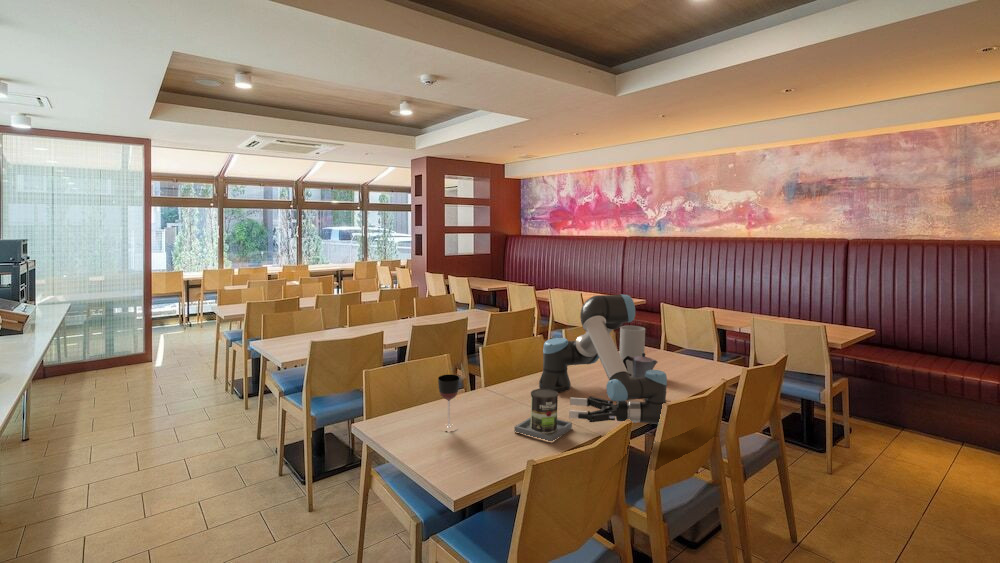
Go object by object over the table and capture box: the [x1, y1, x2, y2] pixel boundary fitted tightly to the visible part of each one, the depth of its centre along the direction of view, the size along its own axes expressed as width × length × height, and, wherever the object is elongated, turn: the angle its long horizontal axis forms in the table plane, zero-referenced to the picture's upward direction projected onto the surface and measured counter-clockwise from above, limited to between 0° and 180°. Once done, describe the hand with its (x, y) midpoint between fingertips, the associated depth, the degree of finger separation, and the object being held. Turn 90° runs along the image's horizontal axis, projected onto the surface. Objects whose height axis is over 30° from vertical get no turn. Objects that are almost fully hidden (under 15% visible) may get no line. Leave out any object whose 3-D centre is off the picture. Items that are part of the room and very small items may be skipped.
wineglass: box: [437, 374, 460, 428], centre depth 194 cm, size 8×9×20 cm
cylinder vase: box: [618, 325, 646, 378], centre depth 264 cm, size 12×12×25 cm
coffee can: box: [530, 388, 559, 434], centre depth 192 cm, size 10×10×14 cm
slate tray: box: [514, 416, 573, 441], centre depth 193 cm, size 16×16×2 cm
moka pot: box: [623, 352, 659, 378], centre depth 233 cm, size 10×15×20 cm, turn 78°
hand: (569, 407), depth 191 cm, fingers open, 13 cm apart
